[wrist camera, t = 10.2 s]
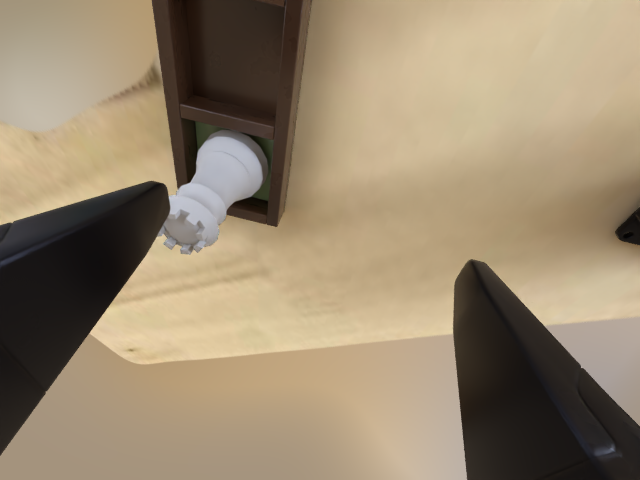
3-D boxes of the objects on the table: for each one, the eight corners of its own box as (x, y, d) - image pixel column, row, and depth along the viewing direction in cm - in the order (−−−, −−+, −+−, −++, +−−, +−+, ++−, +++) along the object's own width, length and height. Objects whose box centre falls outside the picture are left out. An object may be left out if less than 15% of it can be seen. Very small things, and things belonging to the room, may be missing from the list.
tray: (342, -238, 11) (334, -271, 10) (284, 210, 24) (277, 227, 23) (145, -283, 11) (106, -323, 10) (193, 187, 24) (179, 203, 23)
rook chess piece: (283, 171, 22) (242, 251, 16) (237, 198, 24) (184, 278, 18) (238, 112, 19) (170, 178, 13) (191, 147, 22) (114, 218, 16)
